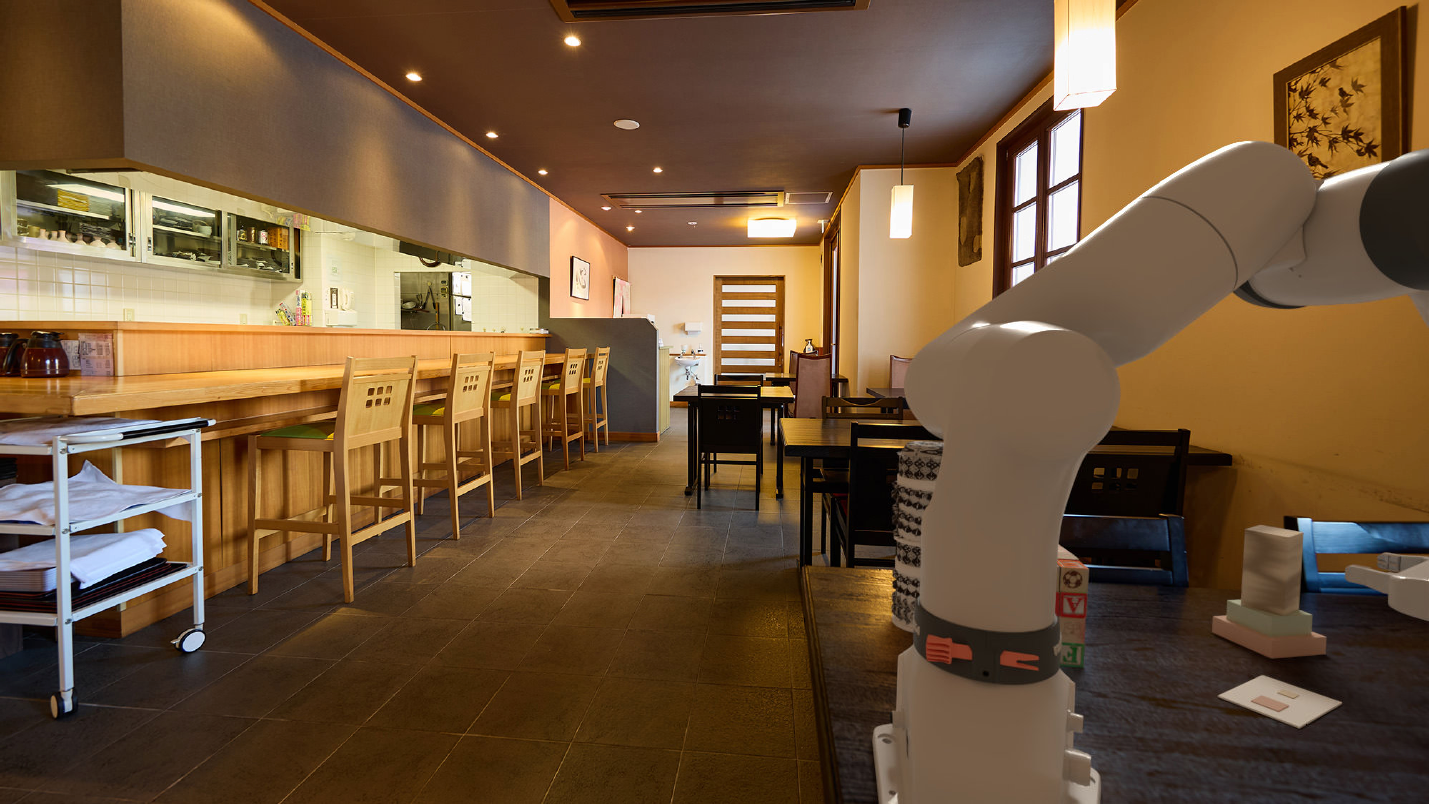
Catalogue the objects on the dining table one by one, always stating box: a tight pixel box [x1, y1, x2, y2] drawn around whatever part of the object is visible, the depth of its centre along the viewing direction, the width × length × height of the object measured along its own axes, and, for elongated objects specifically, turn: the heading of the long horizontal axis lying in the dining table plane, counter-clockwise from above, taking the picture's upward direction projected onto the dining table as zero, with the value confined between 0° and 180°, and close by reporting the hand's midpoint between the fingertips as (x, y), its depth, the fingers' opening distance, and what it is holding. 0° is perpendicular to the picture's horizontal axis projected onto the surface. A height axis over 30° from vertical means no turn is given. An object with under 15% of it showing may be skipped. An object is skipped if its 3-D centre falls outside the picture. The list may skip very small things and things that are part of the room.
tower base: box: [1211, 599, 1327, 659], centre depth 86 cm, size 8×8×5 cm
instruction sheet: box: [1217, 674, 1343, 730], centre depth 71 cm, size 10×7×1 cm
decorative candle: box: [890, 440, 944, 634], centre depth 91 cm, size 9×9×25 cm
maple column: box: [1240, 524, 1304, 616], centre depth 85 cm, size 4×4×10 cm
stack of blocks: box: [1055, 543, 1090, 669], centre depth 89 cm, size 21×6×12 cm, turn 170°
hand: (1363, 565), depth 78 cm, fingers open, 8 cm apart
